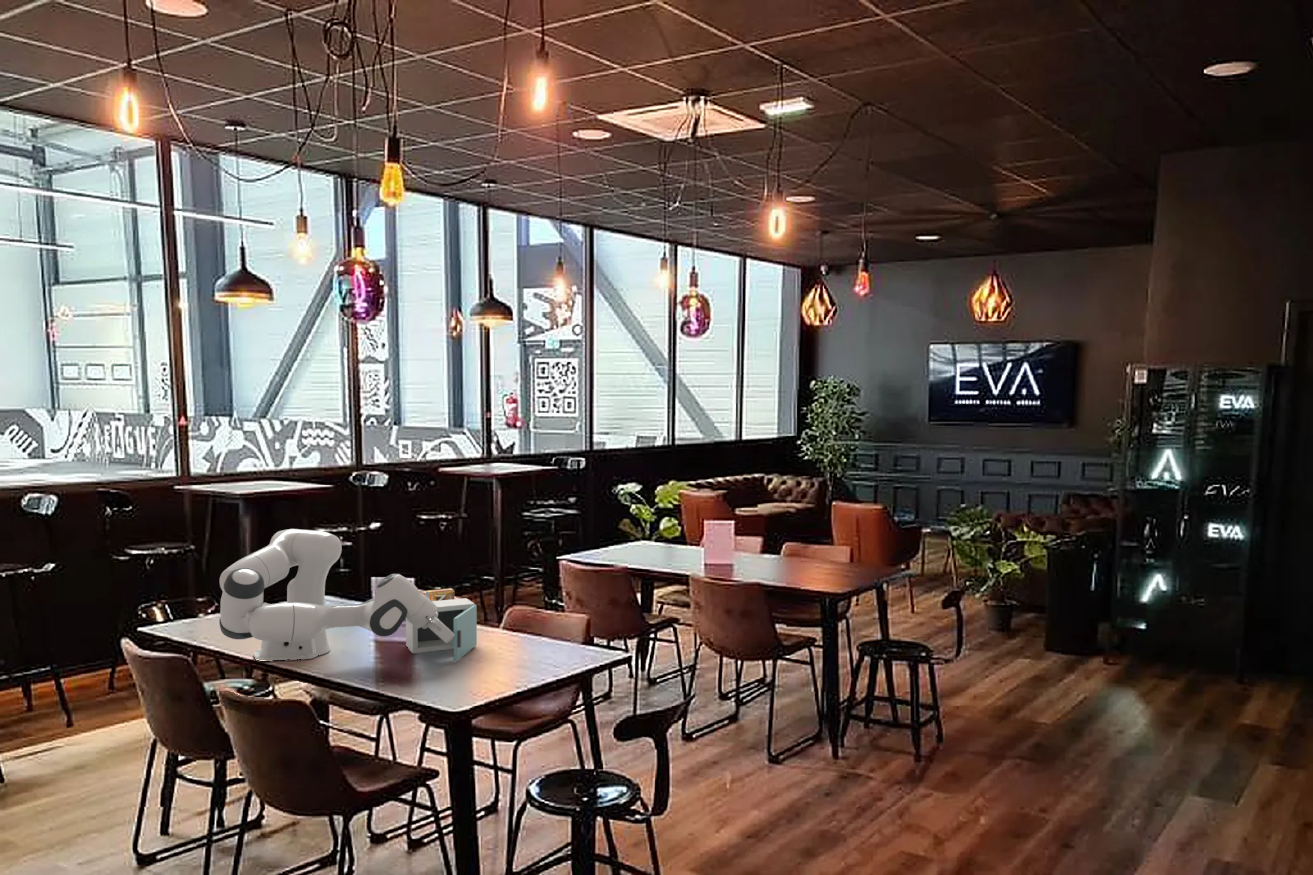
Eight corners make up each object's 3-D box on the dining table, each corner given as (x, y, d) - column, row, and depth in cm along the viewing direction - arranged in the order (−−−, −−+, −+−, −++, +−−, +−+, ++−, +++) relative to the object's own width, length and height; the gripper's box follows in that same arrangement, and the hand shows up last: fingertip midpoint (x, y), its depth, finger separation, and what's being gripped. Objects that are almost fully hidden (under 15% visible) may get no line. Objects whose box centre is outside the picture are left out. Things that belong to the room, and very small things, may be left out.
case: (412, 653, 295) (412, 609, 295) (406, 646, 304) (405, 603, 304) (474, 646, 304) (474, 603, 304) (466, 639, 313) (466, 598, 313)
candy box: (451, 631, 324) (450, 587, 324) (455, 634, 321) (454, 590, 320) (426, 634, 320) (425, 590, 319) (429, 637, 316) (429, 592, 316)
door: (459, 661, 283) (459, 618, 283) (453, 660, 284) (453, 618, 283) (479, 644, 303) (478, 605, 303) (473, 644, 303) (473, 604, 303)
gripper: (438, 612, 276) (470, 642, 280) (423, 599, 294) (454, 628, 299) (422, 628, 274) (455, 658, 279) (409, 615, 292) (440, 643, 297)
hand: (454, 642), depth 289 cm, fingers closed
